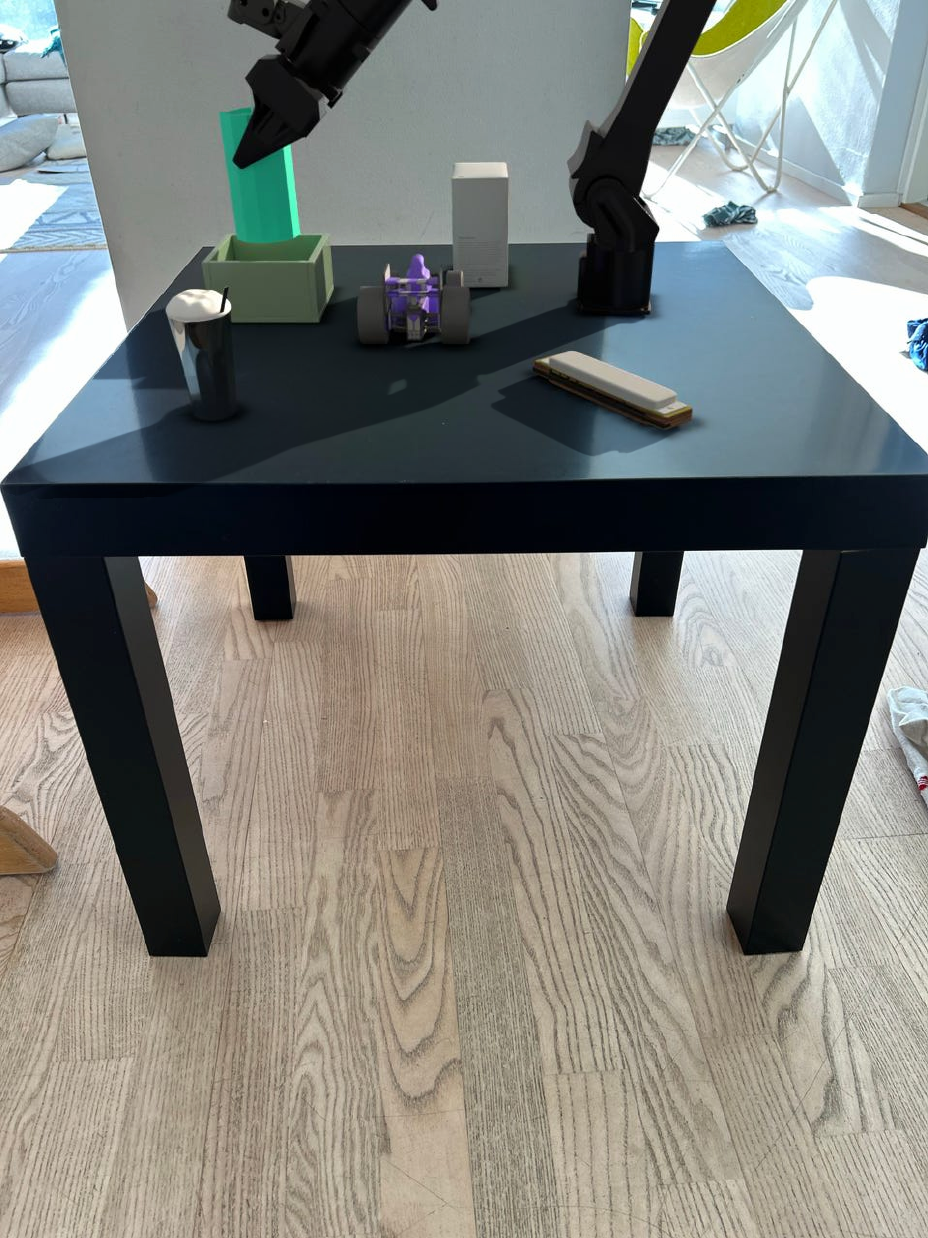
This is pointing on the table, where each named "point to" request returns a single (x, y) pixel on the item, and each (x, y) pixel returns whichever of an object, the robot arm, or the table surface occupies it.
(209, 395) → the milkshake
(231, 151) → the candle
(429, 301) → the toy race car
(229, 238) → the open green box
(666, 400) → the harmonica
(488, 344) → the table surface
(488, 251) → the small box
